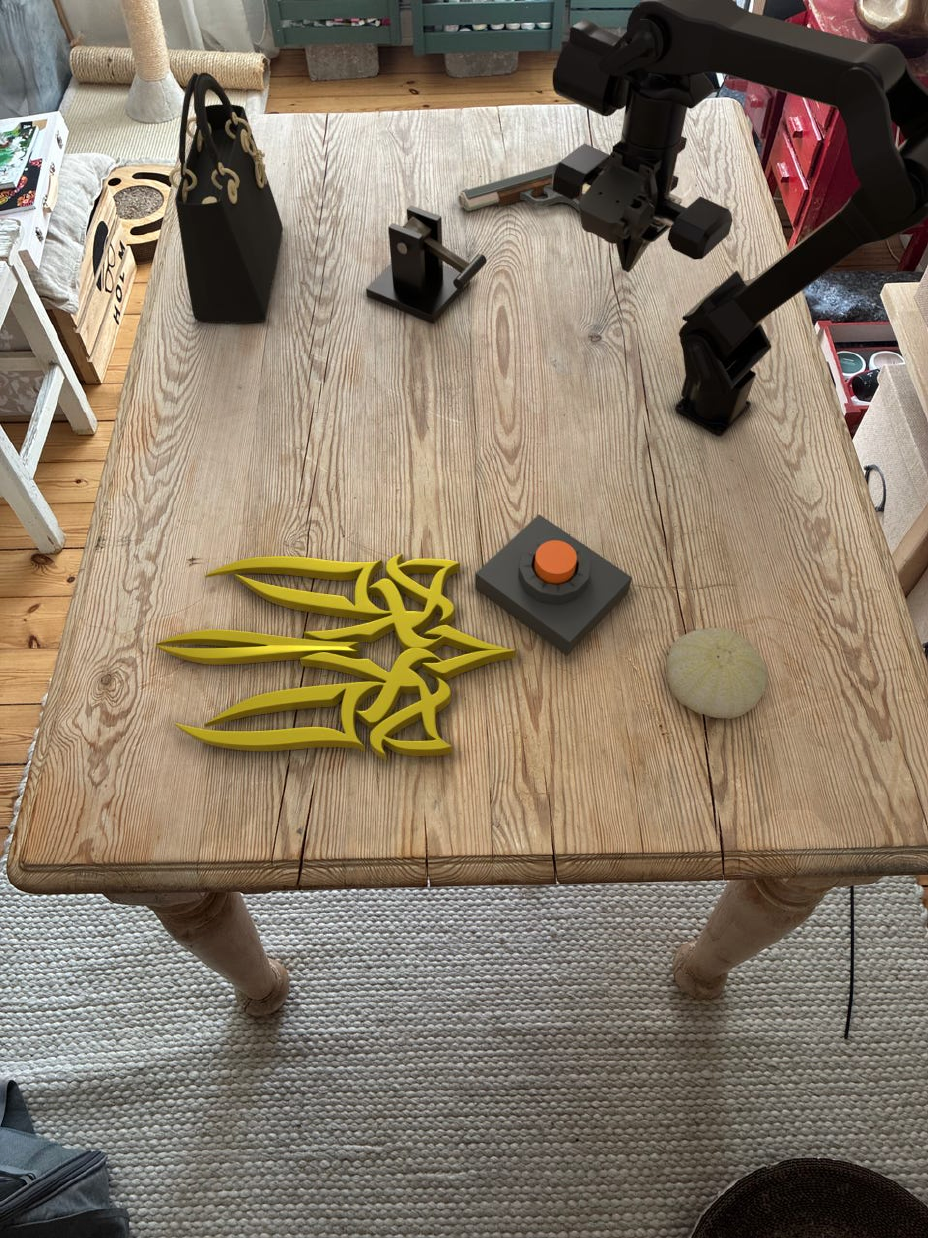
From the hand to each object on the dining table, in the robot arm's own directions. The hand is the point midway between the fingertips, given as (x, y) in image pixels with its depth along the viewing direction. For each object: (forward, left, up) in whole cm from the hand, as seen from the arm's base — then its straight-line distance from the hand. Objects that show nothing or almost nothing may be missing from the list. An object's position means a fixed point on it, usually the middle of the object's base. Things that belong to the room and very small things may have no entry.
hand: (627, 269), depth 103 cm
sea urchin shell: (-34, +30, -12) cm, 47 cm away
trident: (-5, +52, -12) cm, 53 cm away
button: (-16, +32, -8) cm, 36 cm away
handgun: (+25, -16, -12) cm, 32 cm away
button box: (-16, +32, -12) cm, 38 cm away
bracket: (+26, +7, -12) cm, 29 cm away
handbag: (+45, +20, -12) cm, 51 cm away
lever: (+23, +7, -6) cm, 24 cm away
